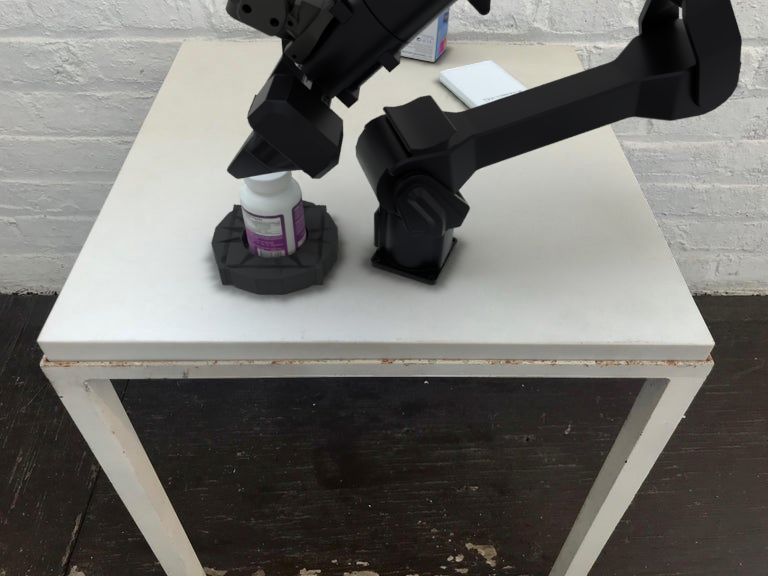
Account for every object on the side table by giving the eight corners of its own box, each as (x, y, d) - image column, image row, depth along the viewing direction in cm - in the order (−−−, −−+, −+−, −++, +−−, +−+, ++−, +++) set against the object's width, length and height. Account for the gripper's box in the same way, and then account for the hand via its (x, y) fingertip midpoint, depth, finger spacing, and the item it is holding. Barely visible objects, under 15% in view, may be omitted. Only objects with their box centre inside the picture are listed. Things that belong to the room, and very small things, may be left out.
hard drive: (490, 70, 85) (545, 113, 77) (438, 82, 82) (489, 128, 75) (492, 59, 84) (547, 101, 76) (439, 70, 81) (491, 116, 73)
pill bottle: (283, 224, 61) (272, 140, 54) (318, 250, 59) (312, 166, 52) (238, 250, 59) (221, 164, 52) (273, 278, 56) (260, 193, 49)
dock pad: (339, 213, 63) (339, 197, 61) (335, 294, 55) (334, 278, 53) (226, 212, 63) (223, 196, 61) (206, 294, 55) (201, 278, 53)
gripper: (313, -129, 44) (192, 18, 53) (264, -39, 31) (113, 139, 40) (416, -10, 50) (291, 107, 58) (411, 109, 37) (251, 238, 45)
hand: (244, 140), depth 50 cm, fingers open, 9 cm apart
